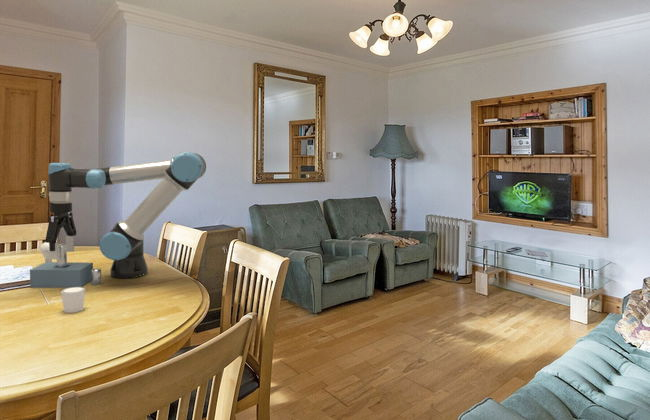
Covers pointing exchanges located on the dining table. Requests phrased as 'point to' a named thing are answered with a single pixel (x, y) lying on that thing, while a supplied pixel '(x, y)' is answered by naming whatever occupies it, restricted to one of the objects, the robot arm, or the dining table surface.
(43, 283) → the hole block
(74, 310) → the shot glass
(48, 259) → the lightbulb
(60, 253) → the tall pin
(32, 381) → the dining table surface
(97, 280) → the short pin
